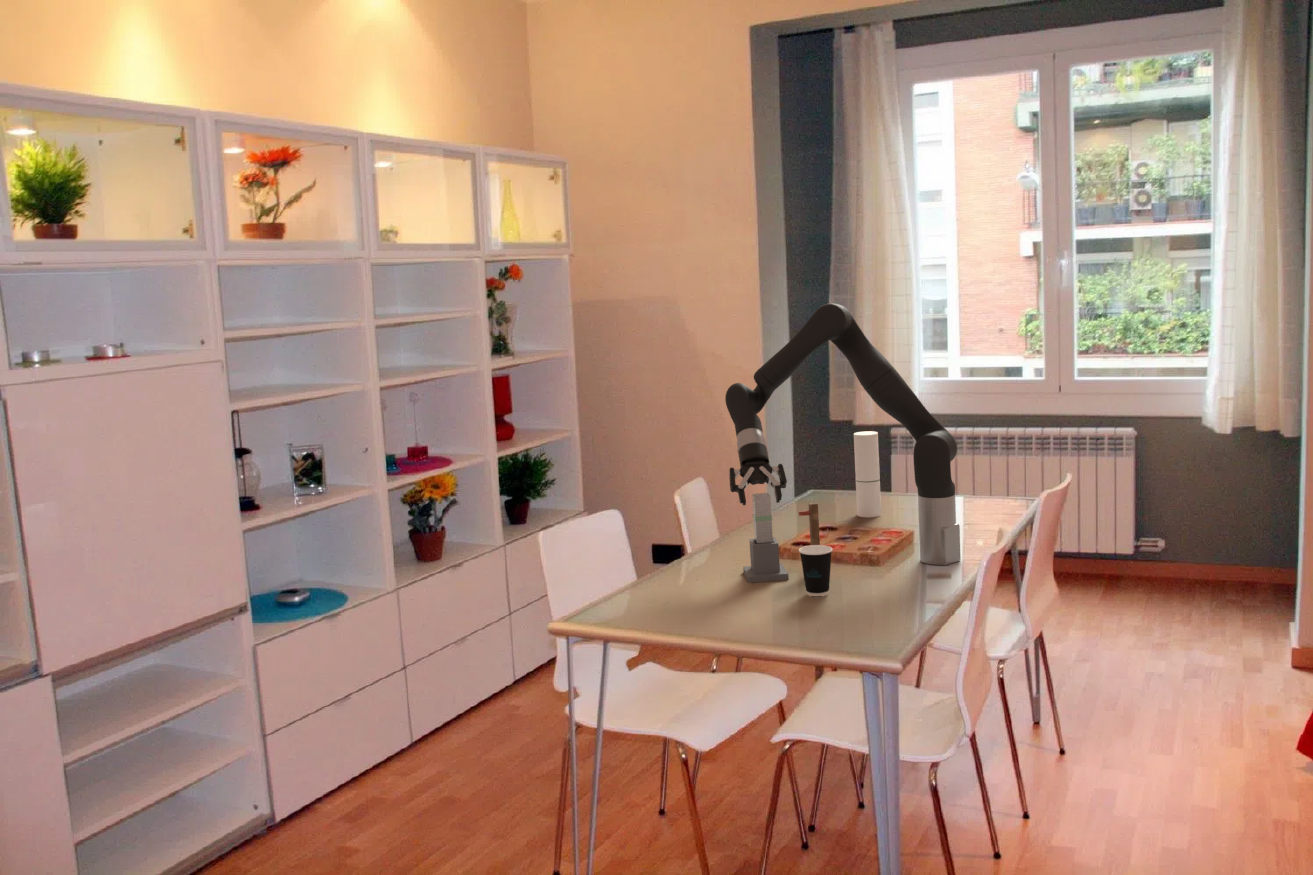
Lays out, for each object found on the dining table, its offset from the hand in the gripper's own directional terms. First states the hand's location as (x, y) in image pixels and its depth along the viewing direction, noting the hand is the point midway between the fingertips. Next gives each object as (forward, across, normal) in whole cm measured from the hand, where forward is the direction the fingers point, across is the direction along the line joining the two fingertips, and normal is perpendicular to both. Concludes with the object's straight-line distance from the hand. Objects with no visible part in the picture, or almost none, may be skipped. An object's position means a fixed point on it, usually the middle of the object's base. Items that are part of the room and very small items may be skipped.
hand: (761, 502), depth 288 cm
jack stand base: (+14, 0, +13) cm, 19 cm away
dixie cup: (+27, +10, 0) cm, 29 cm away
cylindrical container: (-26, +40, +53) cm, 72 cm away
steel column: (+9, 0, +8) cm, 12 cm away
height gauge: (+14, +13, +13) cm, 23 cm away
